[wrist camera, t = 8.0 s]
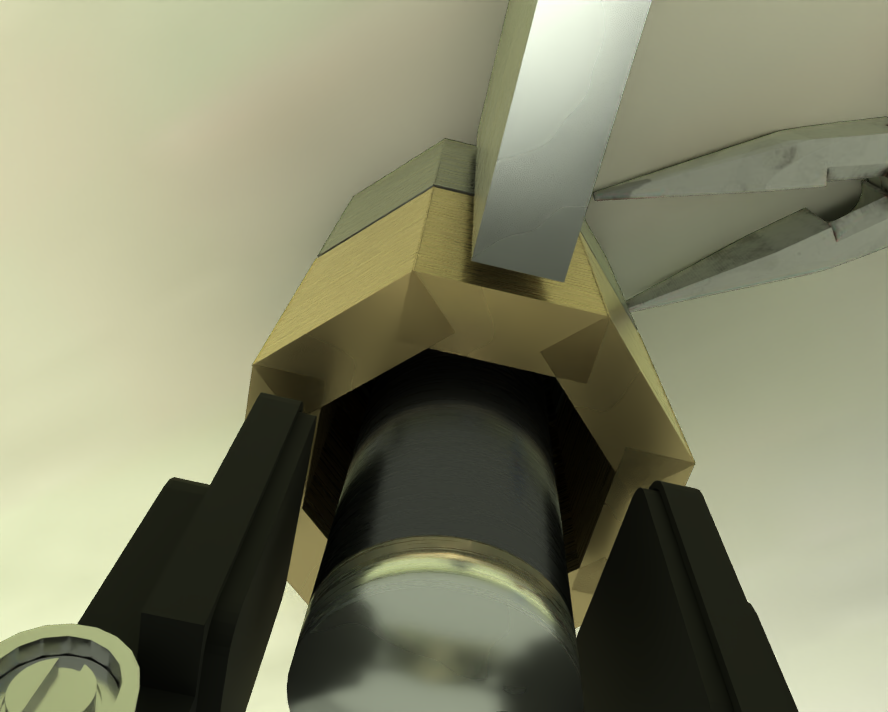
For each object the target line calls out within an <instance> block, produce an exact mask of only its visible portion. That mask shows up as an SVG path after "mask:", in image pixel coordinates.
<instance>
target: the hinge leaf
mask: <svg viewBox="0 0 888 712" xmlns="http://www.w3.org/2000/svg"><path fill="white" fill-rule="evenodd" d="M473 214H474V196H470V195H466V194H461V193H457V192H453V191H449V190H445V189H440V188H436V187H432V188H431V189H429V190H427V191H426V192H424V193H423V194H421V195H419V196H418V197H416V198H414V199H413V200H411V201H410V202H408V203H406V204H405V205H403V206H401V207H400V208H398V209H397V210H395V211H393V212H392V213H390V214H388V215H387V216H385V217H384V218H382V219H380V220H379V221H377V222H375V223H374V224H372V225H371V226H369V227H367V228H366V229H364V230H362V231H361V232H359V233H358V234H356V235H354V236H353V237H351V238H349V239H348V240H346V241H345V242H343V243H341V244H340V245H338V246H337V247H335V248H333V249H332V250H330V251H328V252H327V253H325V254H324V255H322V256H320V257H319V258H316V259H315V261H314V263H313V264H312V266H311V268H310V269H309V271H308V273H307V274H306V276H305V278H304V279H303V281H302V283H301V284H300V286H299V288H298V289H297V291H296V293H295V294H294V296H293V298H292V299H291V301H290V303H289V304H288V306H287V308H286V309H285V311H284V313H283V314H282V316H281V318H280V319H279V321H278V323H277V324H276V326H275V328H274V329H273V331H272V333H271V334H270V336H269V338H268V339H267V341H266V343H265V344H264V346H263V348H262V349H261V351H260V353H259V354H258V356H257V358H256V359H255V361H254V363H253V364H252V374H251V381H250V388H249V395H248V402H247V409H246V416H245V420H246V418H247V416H248V414H249V412H250V410H251V409H252V407H253V405H254V403H255V401H256V399H257V398H258V396H259V394H260V393H262V392H263V393H267V394H272V395H276V396H281V397H285V398H290V399H294V400H299V401H303V412H302V413H306V414H311V415H315V416H316V417H317V419H316V426H315V431H314V437H313V442H312V448H311V453H310V458H309V464H308V469H307V475H306V480H305V485H304V491H303V496H302V502H301V507H300V512H299V518H298V523H297V529H296V534H295V539H294V545H293V550H292V556H291V561H290V566H289V572H288V577H287V581H288V583H289V584H290V585H291V586H292V587H293V588H294V589H295V591H296V592H297V593H298V594H299V595H300V596H301V597H302V599H303V600H304V601H305V602H306V603H307V604H308V605H309V602H310V598H311V595H312V591H313V588H314V585H315V581H316V578H317V574H318V571H319V568H320V564H321V561H322V557H323V554H324V551H325V547H326V544H327V540H328V537H329V534H330V530H331V527H332V523H333V520H334V516H335V513H336V510H337V506H338V503H339V499H340V496H341V493H342V489H343V486H344V482H345V479H346V476H347V472H348V469H349V465H350V462H351V458H352V455H353V452H354V448H355V445H356V441H357V438H358V435H359V431H360V428H361V424H362V421H363V418H364V414H365V411H366V407H367V404H368V400H369V399H368V398H367V396H366V395H365V394H364V392H363V391H362V390H361V388H360V387H359V386H360V385H362V384H364V383H366V382H368V381H369V380H371V379H373V378H375V377H377V376H378V375H380V374H382V373H384V372H386V371H387V370H389V369H391V368H393V367H395V366H396V365H398V364H400V363H402V362H404V361H405V360H407V359H409V358H411V357H413V356H414V355H416V354H418V353H420V352H422V351H423V350H425V349H427V348H430V349H434V350H439V351H443V352H448V353H452V354H456V355H461V356H465V357H470V358H474V359H478V360H483V361H487V362H492V363H496V364H500V365H505V366H509V367H514V368H518V369H522V370H527V371H531V372H536V373H540V374H544V375H549V376H553V377H556V378H557V380H558V382H559V383H560V385H561V386H562V388H563V390H564V391H565V392H564V395H563V398H562V401H561V404H560V407H559V410H558V413H557V416H556V419H555V420H553V421H551V422H549V428H550V436H551V444H552V452H553V460H554V468H555V475H556V483H557V491H558V499H559V507H560V515H561V523H562V531H563V539H564V546H565V554H566V562H567V570H568V578H569V586H570V594H571V602H572V610H573V618H574V625H575V628H577V627H579V626H581V625H582V622H583V619H584V617H585V614H586V612H587V609H588V607H589V604H590V602H591V599H592V597H593V594H594V592H595V589H596V587H597V584H598V582H599V579H600V577H601V574H602V572H603V569H604V567H605V564H606V562H607V559H608V557H609V554H610V552H611V549H612V547H613V544H614V542H615V539H616V537H617V534H618V532H619V529H620V527H621V524H622V522H623V519H624V517H625V514H626V512H627V509H628V507H629V504H630V502H631V499H632V497H633V495H634V493H635V491H636V490H637V489H638V488H640V487H641V488H645V489H649V487H650V486H651V484H652V483H653V482H654V481H656V480H659V481H664V482H668V483H673V484H677V485H682V486H685V485H686V483H687V481H688V479H689V476H690V474H691V472H692V469H693V467H694V465H695V461H694V459H693V456H692V454H691V452H690V449H689V447H688V445H687V442H686V440H685V438H684V435H683V433H682V431H681V429H680V426H679V424H678V422H677V419H676V417H675V415H674V412H673V410H672V408H671V405H670V403H669V401H668V399H667V396H666V394H665V392H664V389H663V387H662V385H661V382H660V380H659V378H658V375H657V373H656V371H655V369H654V366H653V364H652V362H651V359H650V357H649V355H648V352H647V350H646V348H645V345H644V343H643V341H642V339H641V336H640V334H639V333H638V332H637V330H636V328H635V326H634V325H633V323H632V321H631V319H630V318H629V316H628V314H627V312H626V311H625V309H624V307H623V305H622V304H621V302H620V300H619V298H618V297H617V295H616V293H615V291H614V290H613V288H612V286H611V284H610V283H609V281H608V279H607V277H606V276H605V274H604V272H603V270H602V269H601V267H600V265H599V263H598V262H597V260H596V258H595V256H594V255H593V253H592V251H591V249H590V248H589V246H588V244H587V242H586V241H585V239H584V237H583V235H582V234H581V232H580V233H579V236H578V240H577V243H576V246H575V249H574V252H573V256H572V259H571V262H570V265H569V268H568V272H567V275H566V278H565V281H564V282H559V281H555V280H551V279H547V278H542V277H538V276H534V275H530V274H525V273H521V272H517V271H513V270H508V269H504V268H500V267H495V266H491V265H487V264H483V263H478V262H474V261H471V256H472V235H473Z"/></svg>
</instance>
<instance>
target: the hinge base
mask: <svg viewBox="0 0 888 712" xmlns="http://www.w3.org/2000/svg"><path fill="white" fill-rule="evenodd" d="M651 2H652V0H509V4H508V8H507V12H506V16H505V20H504V24H503V29H502V33H501V37H500V41H499V45H498V49H497V53H496V58H495V62H494V66H493V70H492V74H491V78H490V82H489V87H488V91H487V95H486V99H485V103H484V107H483V111H482V116H481V120H480V124H479V128H478V132H477V146H474V145H469V144H465V143H461V142H457V141H453V140H449V139H446V138H444V140H442V141H441V142H439V143H437V144H436V145H434V146H433V147H431V148H430V149H428V150H426V151H425V152H423V153H422V154H420V155H418V156H417V157H415V158H414V159H412V160H411V161H409V162H407V163H406V164H404V165H403V166H401V167H399V168H398V169H396V170H395V171H393V172H392V173H390V174H388V175H387V176H385V177H384V178H382V179H380V180H379V181H377V182H376V183H374V184H373V185H371V186H369V187H368V188H366V189H365V190H363V191H361V192H360V193H358V194H357V195H355V196H353V198H352V199H351V201H350V203H349V204H348V206H347V208H346V209H345V211H344V213H343V214H342V216H341V218H340V219H339V221H338V223H337V224H336V226H335V228H334V229H333V231H332V233H331V234H330V236H329V238H328V239H327V241H326V243H325V244H324V246H323V248H322V249H321V251H320V253H319V254H318V258H319V257H320V256H322V255H324V254H325V253H327V252H328V251H330V250H332V249H333V248H335V247H337V246H338V245H340V244H341V243H343V242H345V241H346V240H348V239H349V238H351V237H353V236H354V235H356V234H358V233H359V232H361V231H362V230H364V229H366V228H367V227H369V226H371V225H372V224H374V223H375V222H377V221H379V220H380V219H382V218H384V217H385V216H387V215H388V214H390V213H392V212H393V211H395V210H397V209H398V208H400V207H401V206H403V205H405V204H406V203H408V202H410V201H411V200H413V199H414V198H416V197H418V196H419V195H421V194H423V193H424V192H426V191H427V190H429V189H431V188H432V187H436V188H440V189H445V190H449V191H453V192H457V193H461V194H466V195H470V196H474V214H473V235H472V256H471V261H474V262H478V263H483V264H487V265H491V266H495V267H500V268H504V269H508V270H513V271H517V272H521V273H525V274H530V275H534V276H538V277H542V278H547V279H551V280H555V281H559V282H564V281H565V278H566V275H567V272H568V268H569V265H570V262H571V259H572V256H573V252H574V249H575V246H576V243H577V240H578V236H579V233H580V232H581V234H582V235H583V237H584V239H585V241H586V242H587V244H588V246H589V248H590V249H591V251H592V253H593V255H594V256H595V258H596V260H597V262H598V263H599V265H600V267H601V269H602V270H603V272H604V274H605V276H606V277H607V279H608V281H609V283H610V284H611V286H612V288H613V290H614V291H615V293H616V295H617V297H618V298H619V300H620V302H621V304H622V305H623V307H624V309H625V311H626V312H627V314H628V316H629V318H630V319H631V321H632V323H633V325H634V326H635V328H636V330H637V327H636V325H635V322H634V320H633V318H632V315H631V313H630V311H629V309H628V306H627V304H626V302H625V299H624V297H623V295H622V292H621V290H620V288H619V285H618V283H617V281H616V279H615V276H614V274H613V272H612V269H611V267H610V265H609V262H608V260H607V258H606V256H605V255H604V253H603V251H602V249H601V248H600V246H599V244H598V242H597V241H596V239H595V237H594V235H593V234H592V232H591V230H590V228H589V226H588V225H587V223H586V221H585V219H584V217H585V214H586V211H587V207H588V204H589V201H590V198H591V195H592V191H593V188H594V185H595V182H596V179H597V175H598V172H599V169H600V166H601V163H602V159H603V156H604V153H605V150H606V146H607V143H608V140H609V137H610V134H611V130H612V127H613V124H614V121H615V118H616V114H617V111H618V108H619V105H620V102H621V98H622V95H623V92H624V89H625V86H626V82H627V79H628V76H629V73H630V69H631V66H632V63H633V60H634V57H635V53H636V50H637V47H638V44H639V41H640V37H641V34H642V31H643V28H644V25H645V21H646V18H647V15H648V12H649V9H650V5H651ZM374 380H375V378H373V379H371V380H369V381H368V382H366V383H364V384H362V385H360V386H359V387H360V388H361V390H362V391H363V392H364V394H365V395H366V396H367V398H368V399H369V397H370V394H371V390H372V387H373V383H374ZM543 381H544V389H545V397H546V404H547V412H548V420H549V422H551V421H553V420H555V419H556V416H557V413H558V410H559V407H560V404H561V401H562V398H563V395H564V392H565V391H564V390H563V388H562V386H561V385H560V383H559V382H558V380H557V378H556V377H553V376H549V375H544V374H543Z"/></svg>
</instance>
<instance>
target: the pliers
mask: <svg viewBox="0 0 888 712" xmlns="http://www.w3.org/2000/svg"><path fill="white" fill-rule="evenodd" d="M861 178H867V179H868V181H869V182H867V181H865V180H864V181H861V184H862V193H861V197H860V199H859V202H858V203H857V205H856V206H855V208H854V209H853V210H852V211H851V212H850V213H849V214H847V215H845V216H843V217H841V218H839V219H837V220H835V221H824V220H822V219H821V218H819V217H818V216H817V215H815V214H814V213H812V212H811V211H810V210H808V209H807V208H804V209H801V210H799V211H797V212H795V213H793V214H791V215H789V216H787V217H785V218H783V219H781V220H778V221H776V222H774V223H772V224H770V225H768V226H766V227H764V228H762V229H760V230H758V231H755V232H753V233H751V234H750V235H748V236H746V237H744V238H742V239H740V240H738V241H737V242H735V243H733V244H731V245H729V246H727V247H725V248H724V249H722V250H720V251H718V252H716V253H714V254H712V255H711V256H709V257H707V258H705V259H703V260H701V261H699V262H698V263H696V264H694V265H692V266H690V267H688V268H686V269H685V270H683V271H681V272H679V273H677V274H675V275H673V276H672V277H670V278H668V279H666V280H664V281H662V282H660V283H659V284H657V285H655V286H653V287H651V288H649V289H647V290H646V291H644V292H642V293H640V294H638V295H636V296H634V297H633V298H631V299H629V300H627V301H625V302H626V304H627V306H628V309H629V311H630V312H634V311H638V310H643V309H648V308H652V307H657V306H662V305H667V304H671V303H676V302H681V301H686V300H690V299H695V298H700V297H704V296H709V295H714V294H719V293H723V292H728V291H733V290H738V289H742V288H747V287H752V286H756V285H761V284H766V283H771V282H775V281H780V280H785V279H790V278H794V277H799V276H804V275H808V274H812V273H816V272H820V271H823V270H827V269H830V268H833V267H836V266H838V265H841V264H844V263H847V262H849V261H852V260H855V259H857V258H860V257H863V256H865V255H868V254H870V253H873V252H876V251H878V250H881V249H883V248H886V247H888V117H881V118H873V119H863V120H854V121H845V122H837V123H830V124H822V125H815V126H808V127H800V128H794V129H788V130H783V131H778V132H775V133H772V134H769V135H766V136H763V137H760V138H757V139H754V140H751V141H748V142H745V143H741V144H738V145H735V146H732V147H729V148H726V149H723V150H720V151H717V152H714V153H711V154H708V155H705V156H702V157H699V158H696V159H693V160H690V161H687V162H684V163H681V164H678V165H675V166H672V167H669V168H666V169H663V170H660V171H657V172H654V173H651V174H648V175H645V176H642V177H639V178H636V179H632V180H629V181H626V182H623V183H620V184H617V185H614V186H611V187H608V188H605V189H602V190H599V191H596V192H593V197H594V200H595V201H601V200H619V199H637V198H655V197H674V196H692V195H710V194H728V193H746V192H765V191H776V190H788V189H800V188H812V187H824V186H827V182H828V181H839V180H850V179H861Z"/></svg>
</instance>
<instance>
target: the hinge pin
mask: <svg viewBox="0 0 888 712" xmlns="http://www.w3.org/2000/svg"><path fill="white" fill-rule="evenodd" d="M287 698H288V705H289V709H290V712H583V708H584V704H583V689H582V681H581V673H580V665H579V657H578V649H577V641H576V633H575V625H574V618H573V610H572V602H571V594H570V586H569V578H568V570H567V562H566V554H565V546H564V539H563V531H562V523H561V515H560V507H559V499H558V491H557V483H556V475H555V468H554V460H553V452H552V444H551V436H550V428H549V420H548V412H547V404H546V397H545V389H544V381H543V374H540V373H536V372H531V371H527V370H522V369H518V368H514V367H509V366H505V365H500V364H496V363H492V362H487V361H483V360H478V359H474V358H470V357H465V356H461V355H456V354H452V353H448V352H443V351H439V350H434V349H430V348H427V349H425V350H423V351H422V352H420V353H418V354H416V355H414V356H413V357H411V358H409V359H407V360H405V361H404V362H402V363H400V364H398V365H396V366H395V367H393V368H391V369H389V370H387V371H386V372H384V373H382V374H380V375H378V376H377V377H375V380H374V383H373V387H372V390H371V394H370V397H369V400H368V404H367V407H366V411H365V414H364V418H363V421H362V424H361V428H360V431H359V435H358V438H357V441H356V445H355V448H354V452H353V455H352V458H351V462H350V465H349V469H348V472H347V476H346V479H345V482H344V486H343V489H342V493H341V496H340V499H339V503H338V506H337V510H336V513H335V516H334V520H333V523H332V527H331V530H330V534H329V537H328V540H327V544H326V547H325V551H324V554H323V557H322V561H321V564H320V568H319V571H318V574H317V578H316V581H315V585H314V588H313V591H312V595H311V598H310V602H309V605H308V609H307V612H306V615H305V619H304V622H303V626H302V629H301V632H300V636H299V639H298V643H297V646H296V649H295V653H294V656H293V660H292V663H291V667H290V670H289V673H288V682H287Z"/></svg>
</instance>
